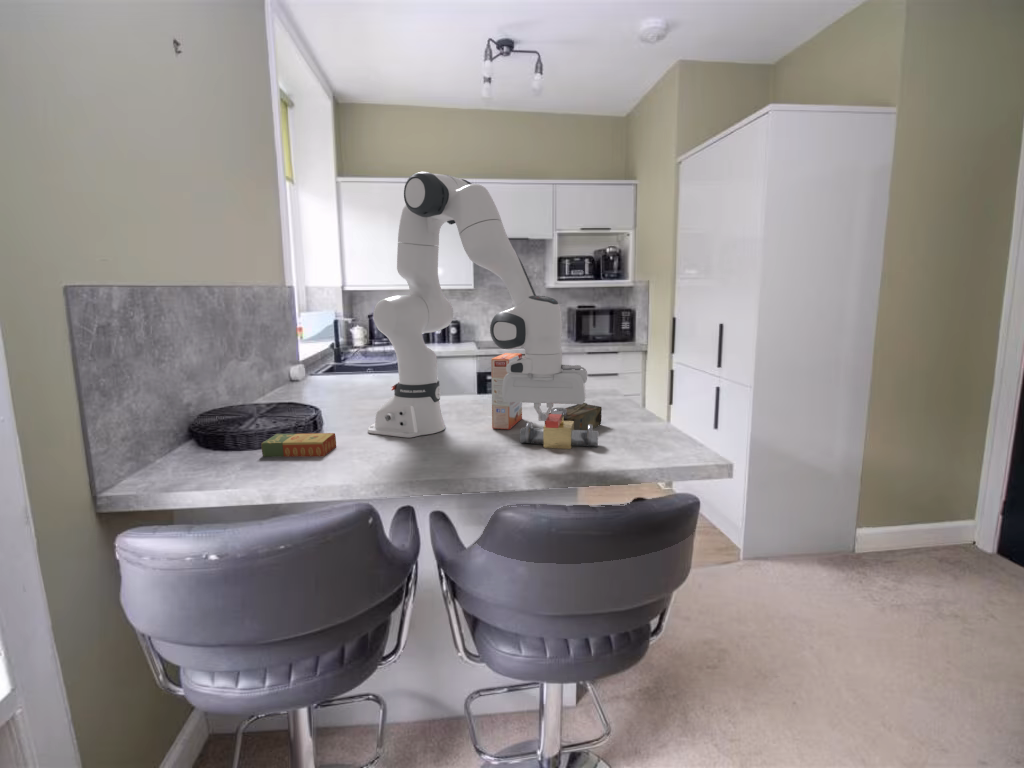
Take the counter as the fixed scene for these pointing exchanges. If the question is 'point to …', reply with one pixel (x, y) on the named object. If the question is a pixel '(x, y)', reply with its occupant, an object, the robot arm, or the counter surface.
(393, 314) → the robot arm
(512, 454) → the counter surface
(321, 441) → the carton
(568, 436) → the valve body
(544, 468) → the counter surface
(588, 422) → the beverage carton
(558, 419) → the lever
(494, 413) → the cracker box
